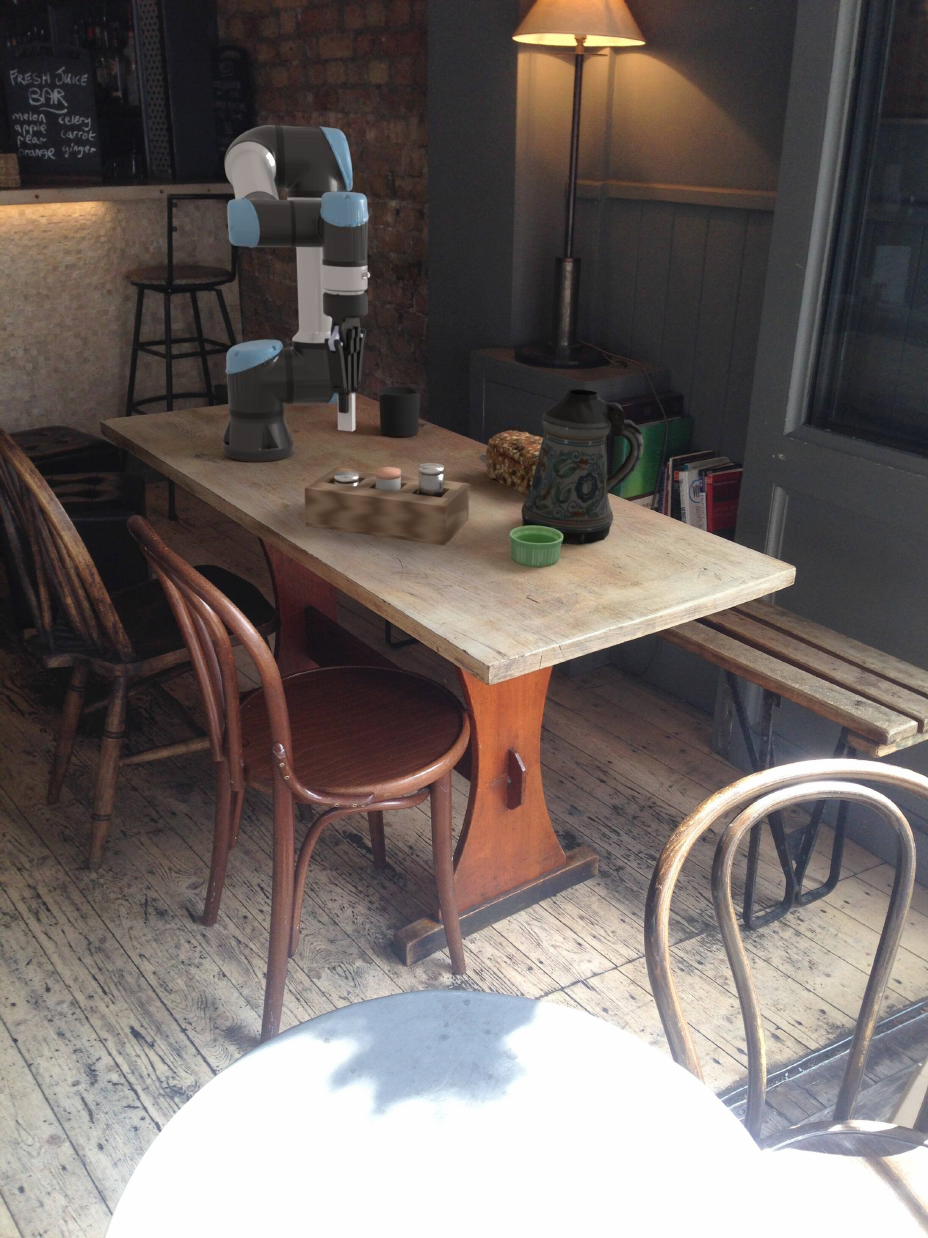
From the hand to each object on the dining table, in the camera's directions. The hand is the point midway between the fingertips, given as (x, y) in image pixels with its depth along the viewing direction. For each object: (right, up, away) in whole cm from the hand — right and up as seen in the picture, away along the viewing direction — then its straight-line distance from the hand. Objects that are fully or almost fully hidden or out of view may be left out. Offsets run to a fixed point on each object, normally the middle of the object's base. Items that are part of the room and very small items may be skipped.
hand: (346, 429), depth 193 cm
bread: (+34, -7, +29) cm, 45 cm away
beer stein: (+40, -17, +5) cm, 44 cm away
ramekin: (+33, -23, -9) cm, 41 cm away
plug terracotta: (+7, -13, +3) cm, 15 cm away
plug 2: (+15, -13, +1) cm, 20 cm away
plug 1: (-1, -14, +6) cm, 15 cm away
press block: (+7, -16, +5) cm, 18 cm away
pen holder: (+6, +10, +62) cm, 63 cm away
